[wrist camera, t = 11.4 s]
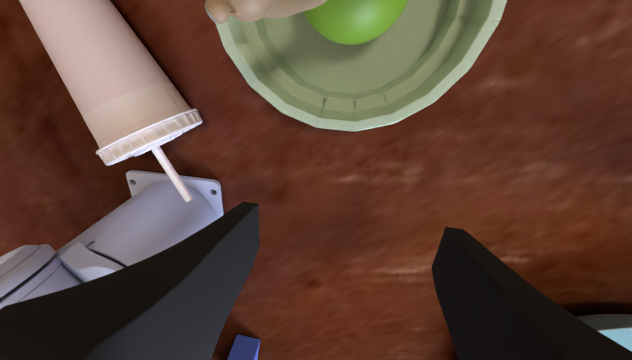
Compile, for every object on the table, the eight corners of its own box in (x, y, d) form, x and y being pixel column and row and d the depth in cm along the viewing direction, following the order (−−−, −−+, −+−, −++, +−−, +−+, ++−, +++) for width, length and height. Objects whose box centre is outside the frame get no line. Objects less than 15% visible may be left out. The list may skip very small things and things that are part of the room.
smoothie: (-40, 11, 14) (129, 232, 18) (-5, -73, 11) (189, 217, 15) (88, 15, 19) (197, 186, 24) (137, -42, 16) (252, 167, 21)
